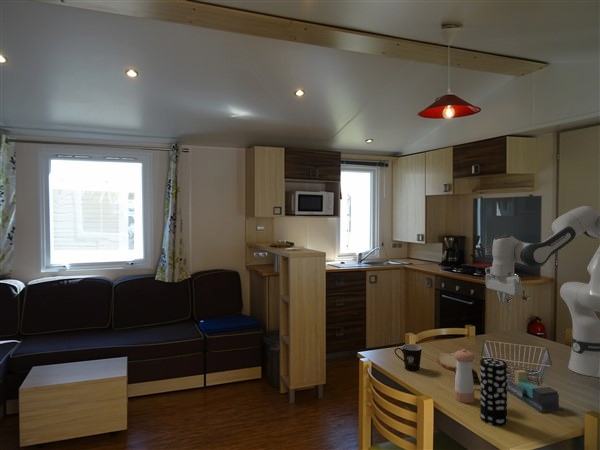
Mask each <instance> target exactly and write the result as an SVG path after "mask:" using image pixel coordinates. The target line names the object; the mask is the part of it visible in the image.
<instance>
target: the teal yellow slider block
mask: <svg viewBox="0 0 600 450" xmlns="http://www.w3.org/2000/svg"><path fill="white" fill-rule="evenodd" d="M514 381H515V383H517V384H519V385H520V386H522V387H524V394H526V395H527V396H529V397H531V398H532V389H533V388H540V387H539V386H537V385H535V384H533V383H531V382H530V381H528V380H527V371H526V370H524V369H517V370H516V369H515V370H514Z"/></svg>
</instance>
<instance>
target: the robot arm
mask: <svg viewBox="0 0 600 450" xmlns="http://www.w3.org/2000/svg"><path fill="white" fill-rule="evenodd" d="M551 231H552V233H553V234H552V235H551V236H550V237H548V238H546V239H545V240H544V241H542V242H538V243H529V242H524V241H521V240H519V239H517V238H515V237H514V236H513V235H512V234H503V235H498V236H496V237H495V238H494V239H493V242H492V259H493V260H492V266H490V267H489V266H488V267H486V268H485V269H484V272H485V286H486V288H487V289H490V290H493V291H497V296H498V299H499V302H502V303H508V298H509V296H510V295H511V296H513V297H514V296H515V297H517V296H518V297H519V296H522V295H523V286H522V280H521V277H520V276H519V275H518V274H517V273H515V263H518V264H521V265H525V266H529V267H530V268H531V267H532V268H541V267H543V266H544V265H545V264H547V262H548V261H549V259H550V258H551V257H552V256H553V255H554V254H556V253H557V252H558V251H560V250H561V249H562V248H564V247H566V246H568V244H570V243H571V242H572V241H573V240H575V238H577V237H579V236H580V235H582V234H584V235H585V236H586V237H588V238H591V239H600V214H598V212H597V211H596V210H595V208H593V207H591V206H589V205H582V206H581V205H580V206H578V207H576V208H572V209H571V210H569V211H568V212H565V213H563V214H562V215H560V216H559V217H557V218H556V219H555V220H553V222H552V223H551ZM586 270H587V272H588V273H589V275H590V279H589V282H587V283H586V282H580V281H567V282H565V283H562V285H561V287H560V290H559V294H560V295H559V296H560V298H561V299H562V300H563V301H564V303H565V304H566V306H567V307H568V310H569V313H570V316H571V321H572V337H571V339H570V340H571V350H570V351H571V352H570V359H569V361H568V366H567V368H568V369H569V370H570V371H572V372H574V373H577V374H580V375H584V376H587V377H594V378H600V318H599V317H598V316H597V313H600V245H599V247H597V249H596V251H595V252H594V255H593V256H592V257H591V260H590V261H589V264H588V265H587V269H586ZM596 312H597V313H596Z"/></svg>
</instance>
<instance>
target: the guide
mask: <svg viewBox="0 0 600 450" xmlns="http://www.w3.org/2000/svg"><path fill="white" fill-rule="evenodd" d="M507 393H509V394H511V395H513V396H514V397H515V398H517V399H519V400H520V401H522V402H524V403H525V404H526V405H528V406H530V407H531V408H533V409H534V410H536V411H537V412H539V413H541V414H544V413H545V414H546V413H552V412H563V411H564V409H565V408H564V407H563V406H561V405H560V403H559V399H560V394H558V393H559V392H558V391H557V390H556V389H554V388H552V387H550V386H545V387H539V388H533V389H532V398H531V397H529V396H527V395H526V394H524V387H522V386H520V385H519V384H517V383H515V380H512V379H507Z"/></svg>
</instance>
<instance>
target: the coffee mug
mask: <svg viewBox="0 0 600 450" xmlns="http://www.w3.org/2000/svg"><path fill="white" fill-rule="evenodd" d="M422 349H423V348H422V346H421V345H418V344H415V343H414V344H413V343H407V344H403V345H402V347H401V348H400V347H396V348H395V349H394V354H395V355H396V357H397V358H398V359H399V360H401V361H402V362H403V363H404V369H405V370H406V371H410V372H418V371H420V367H421V359H422V351H423V350H422ZM397 350H400V351H401V352H402V355H403V358H402V357H401V356H400V355H398V353H397Z"/></svg>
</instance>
